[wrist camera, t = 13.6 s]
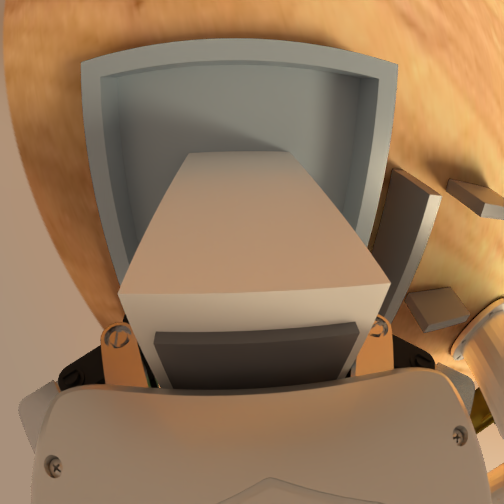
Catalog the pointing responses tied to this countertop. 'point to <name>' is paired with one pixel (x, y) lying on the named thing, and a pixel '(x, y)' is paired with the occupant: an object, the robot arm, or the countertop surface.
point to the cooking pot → (480, 412)
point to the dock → (422, 245)
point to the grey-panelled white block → (249, 278)
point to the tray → (233, 122)
